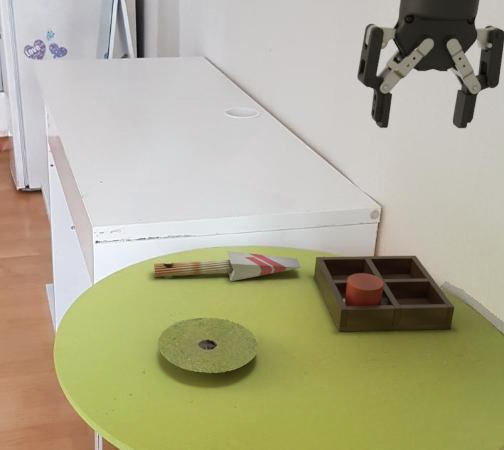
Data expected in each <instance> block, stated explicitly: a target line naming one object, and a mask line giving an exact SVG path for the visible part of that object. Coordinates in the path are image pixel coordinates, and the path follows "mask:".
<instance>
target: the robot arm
mask: <svg viewBox="0 0 504 450" xmlns="http://www.w3.org/2000/svg"><path fill="white" fill-rule="evenodd" d="M479 5H480V0H400V1H399V7H398V18H397V21H396V23H395V25H394V26H393V27H385V26H378V25H376V24H374V23H369V24H367V25H366V26H365V29H364V34H363V41H362V47H361V52H360V58H359V65H358V70H357V80H358V81H359V82H360V83H361V84H363V86H365V87H366V88H370V89H372V90H373V93H372V94H373V95H372V102H371V103H372V105H371V111H370V116H371V118H372V120H373V121H374V122H375V124H376V126H378V127H379V129H388V127H389V122H390V113H391V106H392V99H393V94H392V93H391V91H392V90H393V89H394V87H396V85H397V84H398V83H399V82H400V81H401V80H402V79H404V78H406V77H407V76H408V74H410V73H411V71H412V70H416V71H417V72H427V71H432V70H434V71H438V72H448V71H449V70H450V71H451V72H452V73H453V75H454V76H455V78H456V81H458V83H459V85H460V87H461V88H460V89H457V93H456V97H455V103H454V104H455V105H454V111H453V117H452V124H453V126H455V127H456V128H457V129H467V127H468V124H471V123H472V121H473V120H474V115H475V109H476V104H477V98H478V95H479V93H480V92H481V91H483V90H486V89H489V88H490V89H495V88H496V87H498V85H499V83H500V78H501V76H500V75H501V70H502V62H503V55H504V30H503V29H501V28H500V27H497V26H493V25H486V26H485V27H484V28H476V17H477V15H478V12H479ZM391 40H392V41H393V43H394V44H395V46H396V48H397V50H396V51H395V52H394V54H393V55H392V56H391V57H390V58H389V59H388V60H387V62H386V63H385V66H384V67H383V69H382V70H381V71H380V72H379V73H378V68H379V63H380V57H381V52H382V50H384V49H385V48H386V47H387V46H388V44H389V42H390V41H391ZM475 42H477V47H478V48H479V49H480V57H479V65H478V73H477V75H475V72H474V68H473V66H472V65H471V63H470V61H469V59H468V57H467V55H466V53H467V52H468V51H469V49H470V48H471V47H473V45H474V44H475Z"/></svg>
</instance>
